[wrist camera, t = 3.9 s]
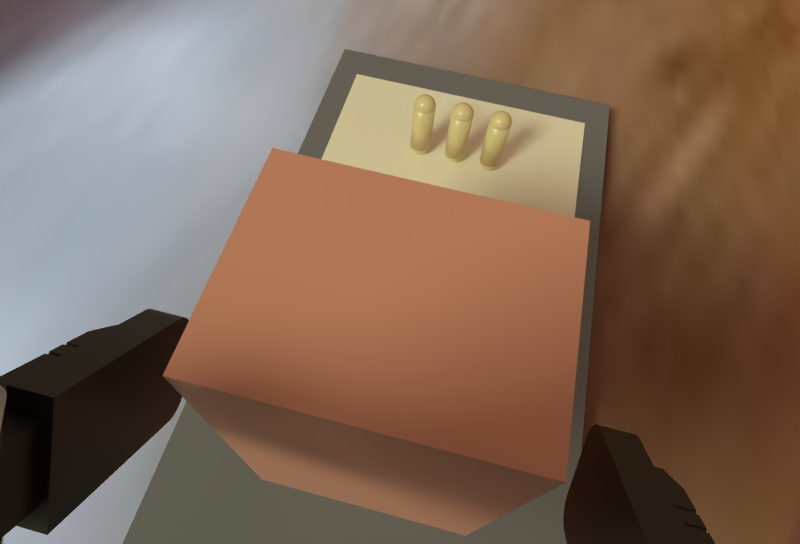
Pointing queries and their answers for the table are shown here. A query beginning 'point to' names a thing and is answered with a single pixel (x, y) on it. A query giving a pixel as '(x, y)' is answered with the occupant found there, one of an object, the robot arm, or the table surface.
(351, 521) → the pin board
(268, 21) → the table surface
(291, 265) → the block
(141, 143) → the table surface
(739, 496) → the table surface
